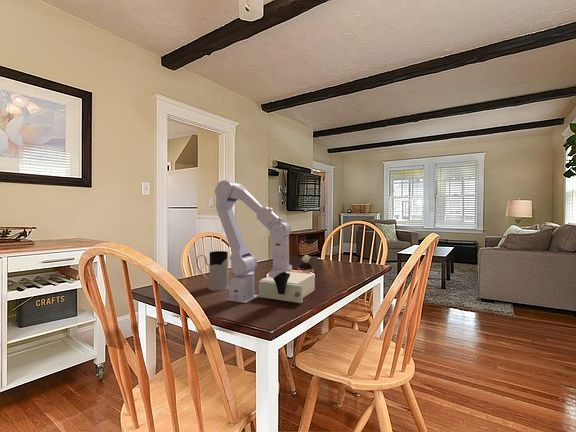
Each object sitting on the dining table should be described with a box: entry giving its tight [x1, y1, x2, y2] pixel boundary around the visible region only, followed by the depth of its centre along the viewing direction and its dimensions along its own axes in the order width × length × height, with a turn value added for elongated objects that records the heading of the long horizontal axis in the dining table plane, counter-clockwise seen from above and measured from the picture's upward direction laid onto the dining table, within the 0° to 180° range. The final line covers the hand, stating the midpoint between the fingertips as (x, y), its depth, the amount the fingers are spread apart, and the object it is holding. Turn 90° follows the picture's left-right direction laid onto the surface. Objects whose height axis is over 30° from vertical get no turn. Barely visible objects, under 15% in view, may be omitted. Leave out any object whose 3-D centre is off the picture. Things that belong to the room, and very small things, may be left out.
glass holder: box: [196, 250, 229, 291], centre depth 134 cm, size 9×14×15 cm, turn 81°
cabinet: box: [259, 271, 316, 298], centre depth 125 cm, size 18×15×6 cm
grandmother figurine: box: [297, 254, 315, 274], centre depth 141 cm, size 8×4×13 cm, turn 74°
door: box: [258, 280, 303, 304], centre depth 115 cm, size 2×17×6 cm, turn 63°
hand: (281, 293), depth 113 cm, fingers closed
